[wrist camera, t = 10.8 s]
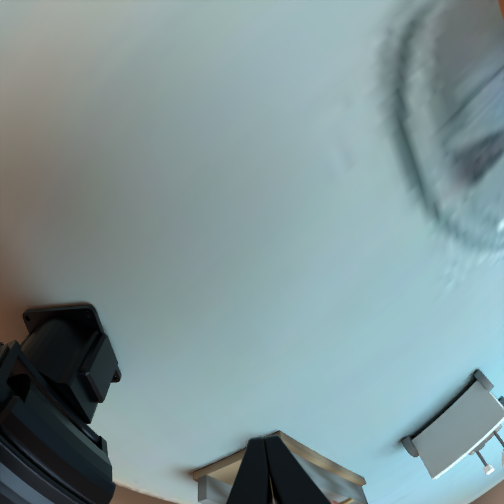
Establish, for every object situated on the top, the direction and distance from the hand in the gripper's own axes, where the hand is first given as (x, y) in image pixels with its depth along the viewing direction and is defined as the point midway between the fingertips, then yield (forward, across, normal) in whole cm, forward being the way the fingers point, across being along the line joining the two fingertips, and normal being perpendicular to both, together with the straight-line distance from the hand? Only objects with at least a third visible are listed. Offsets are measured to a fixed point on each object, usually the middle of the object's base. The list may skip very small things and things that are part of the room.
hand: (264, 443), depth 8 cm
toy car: (+13, -25, +25) cm, 38 cm away
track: (+12, -2, +26) cm, 29 cm away
